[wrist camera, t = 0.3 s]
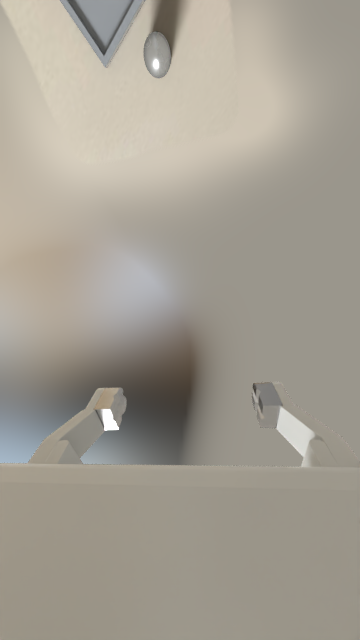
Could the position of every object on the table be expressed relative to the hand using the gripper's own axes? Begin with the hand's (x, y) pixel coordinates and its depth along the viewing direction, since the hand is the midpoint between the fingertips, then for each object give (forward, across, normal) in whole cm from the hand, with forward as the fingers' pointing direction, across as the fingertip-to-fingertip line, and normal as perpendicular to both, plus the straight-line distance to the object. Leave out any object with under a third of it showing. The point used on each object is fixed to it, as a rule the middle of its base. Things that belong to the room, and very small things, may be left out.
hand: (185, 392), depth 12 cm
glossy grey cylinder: (+41, +3, -35) cm, 54 cm away
